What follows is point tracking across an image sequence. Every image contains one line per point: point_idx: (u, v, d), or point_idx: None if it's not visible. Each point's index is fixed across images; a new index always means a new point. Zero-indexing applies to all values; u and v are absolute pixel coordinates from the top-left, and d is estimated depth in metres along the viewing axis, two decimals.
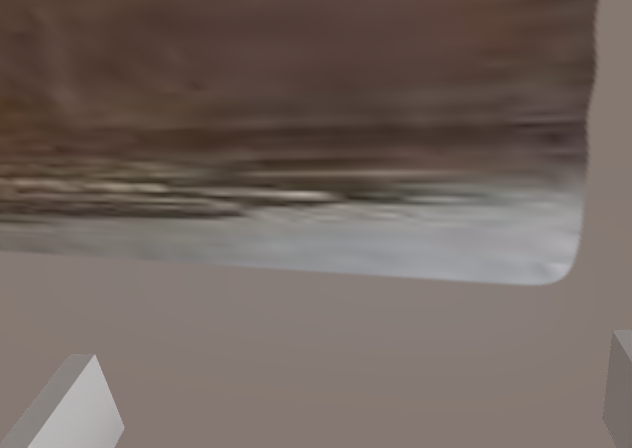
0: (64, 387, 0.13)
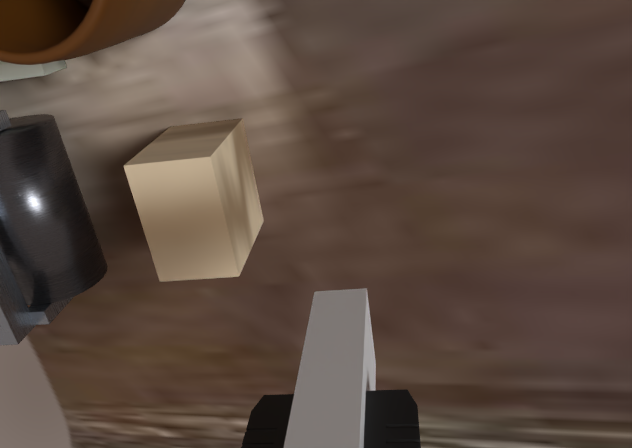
0: (330, 316, 0.14)
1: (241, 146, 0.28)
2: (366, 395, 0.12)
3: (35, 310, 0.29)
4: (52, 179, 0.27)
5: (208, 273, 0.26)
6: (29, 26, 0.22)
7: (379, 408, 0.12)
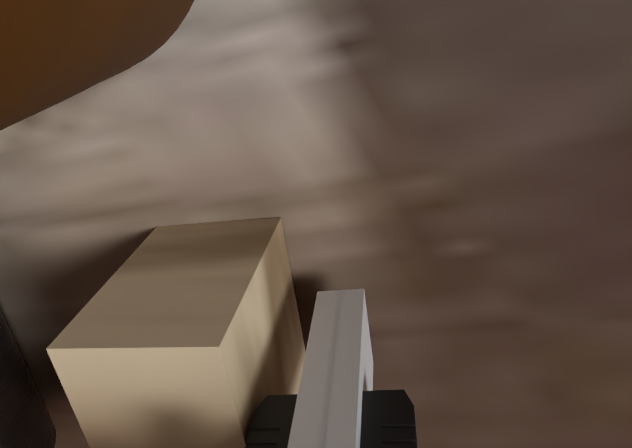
0: (334, 315, 0.14)
1: (278, 270, 0.16)
2: (363, 395, 0.13)
3: None
4: None
5: None
6: None
7: (375, 408, 0.12)
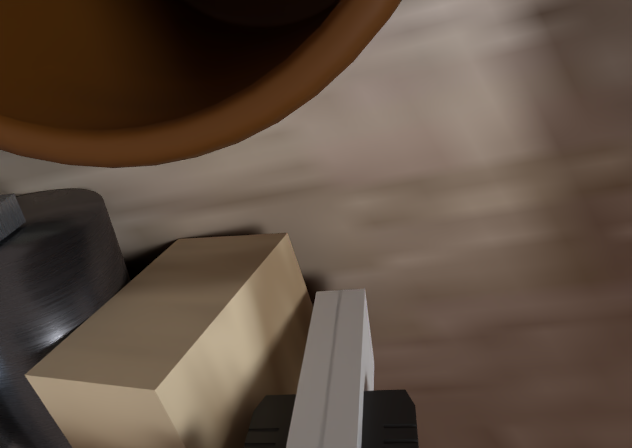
0: (332, 316, 0.14)
1: (280, 291, 0.15)
2: (364, 395, 0.13)
3: None
4: None
5: None
6: (83, 37, 0.09)
7: (376, 409, 0.12)
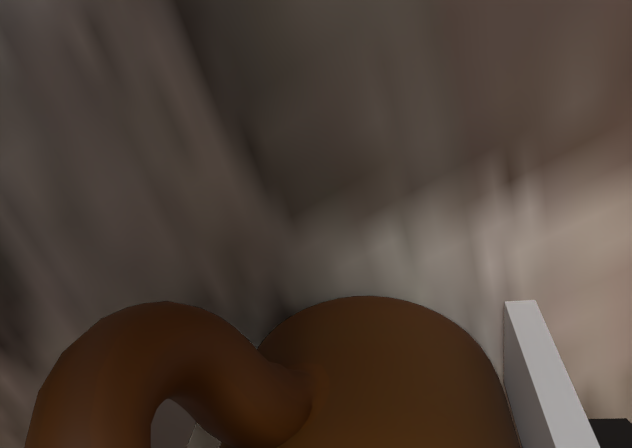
0: None
1: None
2: None
3: None
4: None
5: None
6: None
7: (602, 441, 0.10)
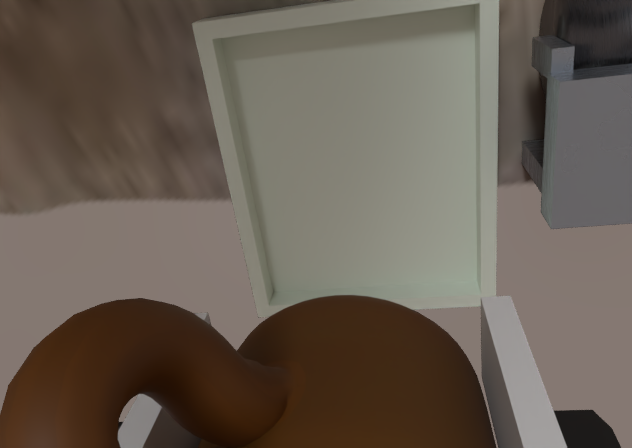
0: None
1: None
2: None
3: None
4: None
5: None
6: None
7: (567, 431, 0.11)
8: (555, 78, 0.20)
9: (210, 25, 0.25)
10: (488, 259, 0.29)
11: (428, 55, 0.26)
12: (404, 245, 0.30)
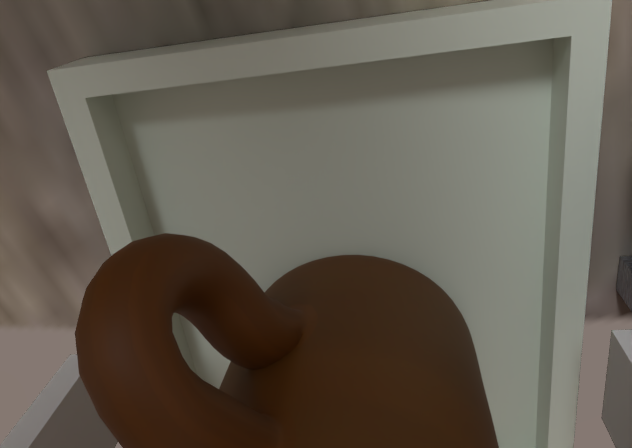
0: (65, 386, 0.13)
1: None
2: None
3: None
4: None
5: None
6: None
7: None
8: None
9: (79, 74, 0.14)
10: (560, 443, 0.18)
11: (468, 121, 0.15)
12: None
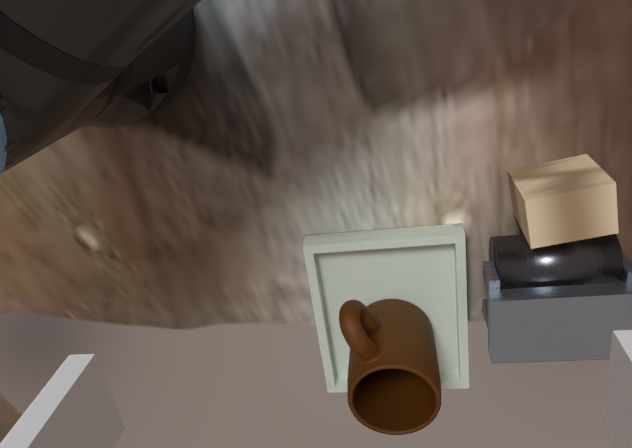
0: (64, 387, 0.13)
1: (525, 172, 0.42)
2: None
3: (626, 278, 0.41)
4: None
5: (612, 202, 0.38)
6: (424, 389, 0.46)
7: None
8: (490, 297, 0.42)
9: (312, 247, 0.46)
10: (464, 364, 0.50)
11: (429, 259, 0.47)
12: None
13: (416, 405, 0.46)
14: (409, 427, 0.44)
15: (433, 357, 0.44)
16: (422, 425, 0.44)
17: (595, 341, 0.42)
